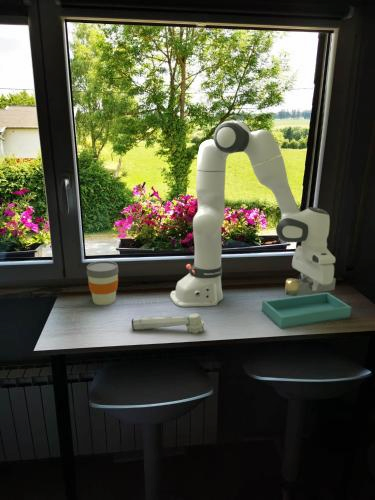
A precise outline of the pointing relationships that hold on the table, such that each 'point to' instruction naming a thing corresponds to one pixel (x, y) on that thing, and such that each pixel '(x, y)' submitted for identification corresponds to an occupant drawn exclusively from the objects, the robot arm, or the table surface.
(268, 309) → the bin
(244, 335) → the table surface
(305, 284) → the strut
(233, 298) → the table surface
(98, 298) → the reusable coffee cup
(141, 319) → the white flashlight
